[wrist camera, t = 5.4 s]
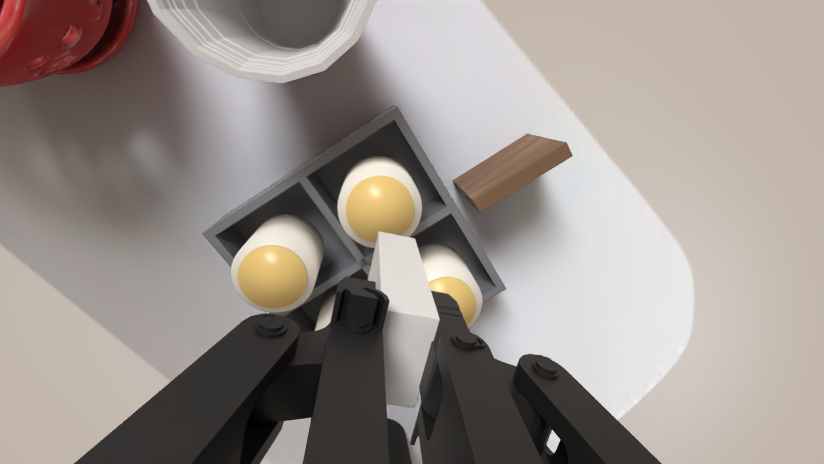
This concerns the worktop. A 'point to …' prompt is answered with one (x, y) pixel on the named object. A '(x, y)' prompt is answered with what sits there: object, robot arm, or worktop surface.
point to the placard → (511, 169)
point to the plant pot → (60, 36)
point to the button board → (317, 202)
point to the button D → (452, 278)
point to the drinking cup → (397, 444)
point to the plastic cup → (266, 33)
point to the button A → (278, 264)
